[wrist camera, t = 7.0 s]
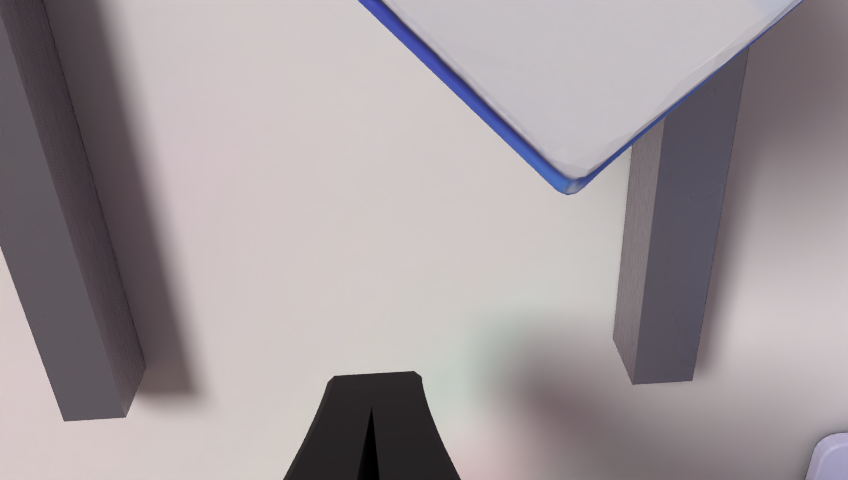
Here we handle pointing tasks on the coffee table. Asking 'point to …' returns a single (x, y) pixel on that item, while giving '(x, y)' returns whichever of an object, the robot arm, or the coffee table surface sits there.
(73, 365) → the grey and brown pieces
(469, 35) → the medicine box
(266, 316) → the coffee table surface
